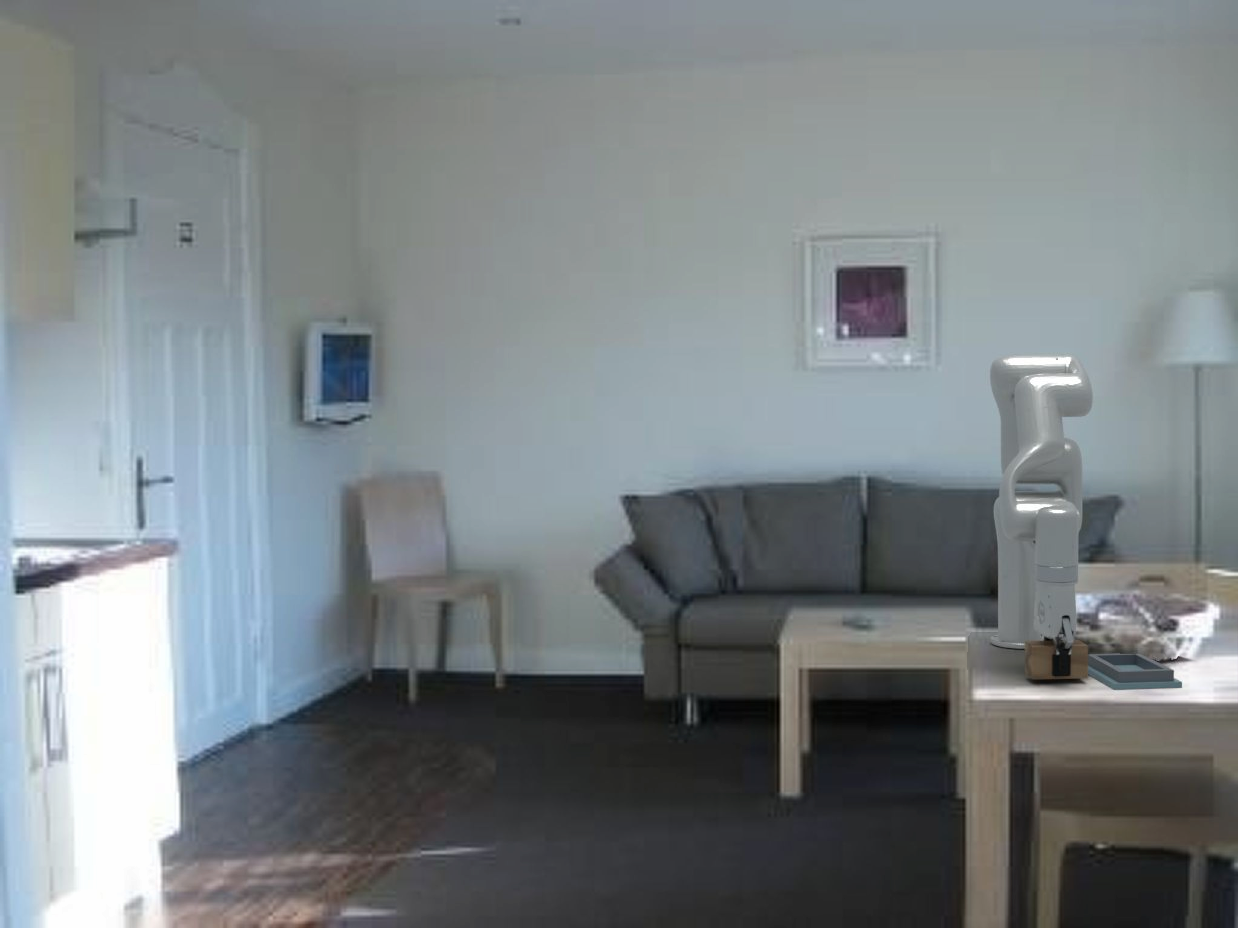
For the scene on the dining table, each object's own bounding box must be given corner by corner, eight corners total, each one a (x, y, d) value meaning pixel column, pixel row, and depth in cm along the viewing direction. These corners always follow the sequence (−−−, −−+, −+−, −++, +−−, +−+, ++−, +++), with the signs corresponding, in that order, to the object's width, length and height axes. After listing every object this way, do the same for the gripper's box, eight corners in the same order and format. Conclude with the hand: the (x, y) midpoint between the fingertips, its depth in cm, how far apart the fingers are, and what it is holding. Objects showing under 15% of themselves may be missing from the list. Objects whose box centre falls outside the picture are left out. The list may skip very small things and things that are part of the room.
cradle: (1079, 669, 284) (1079, 653, 283) (1143, 667, 284) (1143, 651, 284) (1113, 689, 267) (1114, 672, 266) (1181, 687, 267) (1182, 670, 267)
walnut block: (1024, 672, 277) (1025, 641, 276) (1078, 671, 277) (1078, 639, 276) (1032, 679, 272) (1032, 646, 271) (1087, 677, 272) (1087, 645, 271)
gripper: (1021, 567, 281) (1020, 662, 282) (1052, 582, 264) (1051, 684, 266) (1060, 566, 281) (1059, 661, 283) (1094, 581, 264) (1093, 682, 266)
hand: (1055, 671), depth 274 cm, fingers closed on walnut block, 5 cm apart
